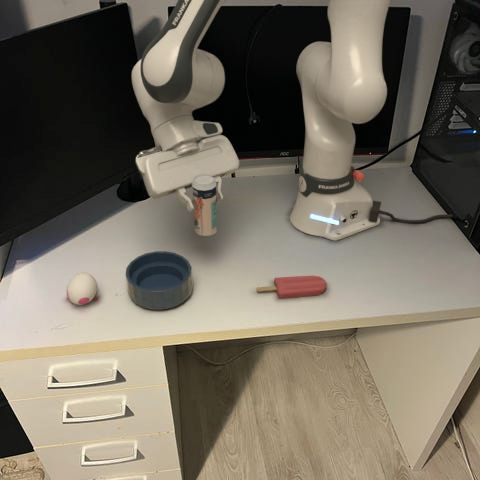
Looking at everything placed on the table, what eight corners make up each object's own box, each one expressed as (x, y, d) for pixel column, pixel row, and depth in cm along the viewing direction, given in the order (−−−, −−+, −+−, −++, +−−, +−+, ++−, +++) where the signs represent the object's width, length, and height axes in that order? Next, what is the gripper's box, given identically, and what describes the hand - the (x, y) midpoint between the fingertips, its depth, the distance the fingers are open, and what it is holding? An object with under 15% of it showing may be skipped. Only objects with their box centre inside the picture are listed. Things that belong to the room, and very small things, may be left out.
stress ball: (81, 299, 111) (58, 279, 107) (109, 283, 108) (86, 261, 104) (74, 323, 105) (49, 302, 101) (103, 306, 102) (78, 284, 99)
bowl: (182, 266, 115) (180, 246, 111) (200, 303, 106) (199, 282, 102) (123, 279, 111) (119, 258, 107) (137, 318, 102) (133, 297, 98)
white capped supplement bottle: (194, 225, 110) (191, 173, 102) (216, 224, 111) (215, 173, 102) (195, 238, 107) (191, 186, 98) (218, 237, 107) (216, 185, 99)
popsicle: (254, 278, 110) (323, 273, 111) (254, 284, 111) (322, 279, 112) (258, 295, 106) (329, 289, 107) (258, 300, 107) (328, 295, 109)
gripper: (135, 147, 95) (166, 216, 96) (226, 121, 104) (254, 185, 105) (127, 160, 101) (156, 225, 102) (215, 135, 110) (241, 195, 111)
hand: (206, 205), depth 104 cm, fingers closed on white capped supplement bottle, 5 cm apart
